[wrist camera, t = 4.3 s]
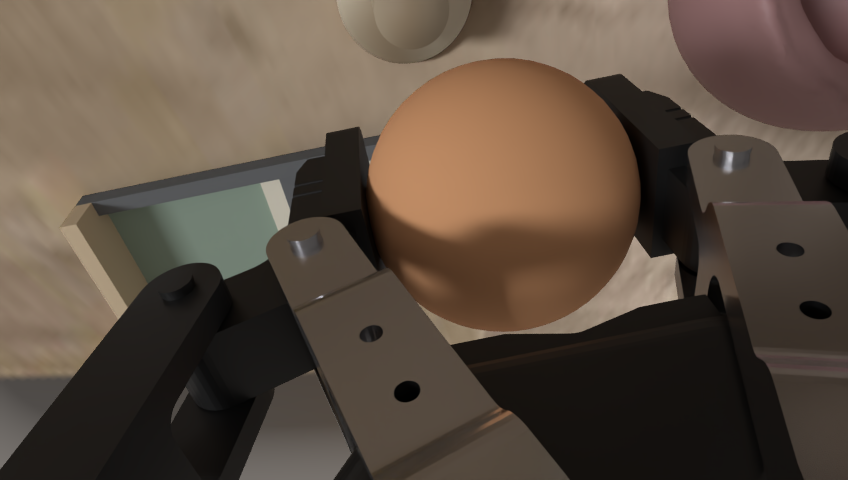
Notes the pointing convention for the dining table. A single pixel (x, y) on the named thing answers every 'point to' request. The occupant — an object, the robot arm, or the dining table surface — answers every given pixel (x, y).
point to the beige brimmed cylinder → (404, 26)
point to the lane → (184, 223)
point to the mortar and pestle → (769, 57)
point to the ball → (503, 194)
